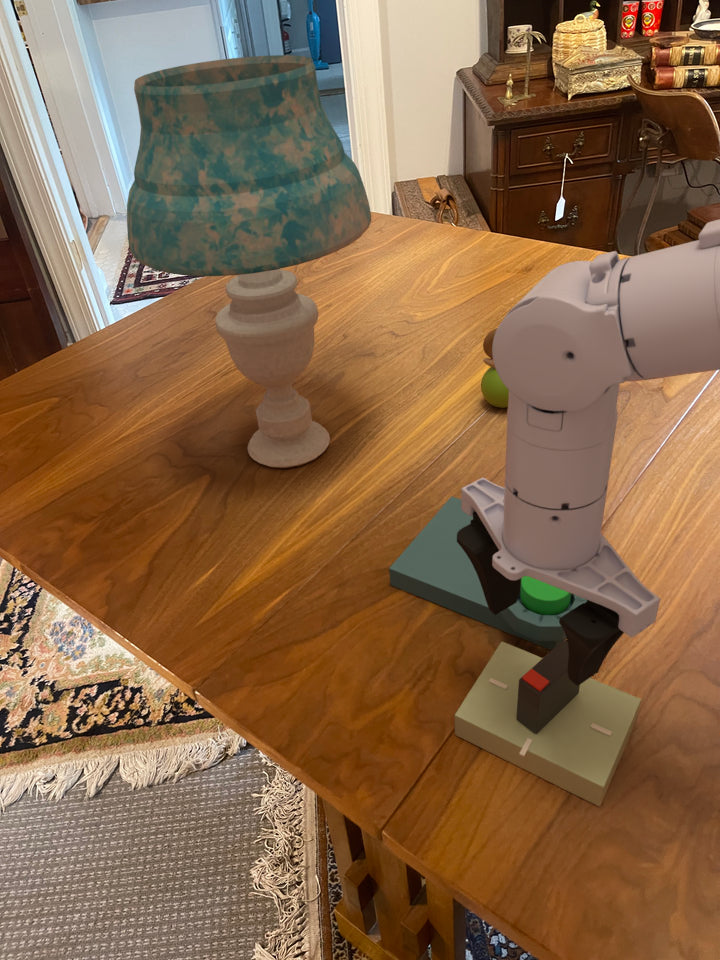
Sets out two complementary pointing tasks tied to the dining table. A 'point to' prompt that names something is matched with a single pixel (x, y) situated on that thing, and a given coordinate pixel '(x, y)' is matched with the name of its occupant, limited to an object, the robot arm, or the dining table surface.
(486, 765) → the dining table surface
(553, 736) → the dimmer panel
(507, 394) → the snail figurine
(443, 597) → the switch box
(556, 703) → the dimmer knob
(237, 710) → the dining table surface
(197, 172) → the table lamp
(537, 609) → the light button
